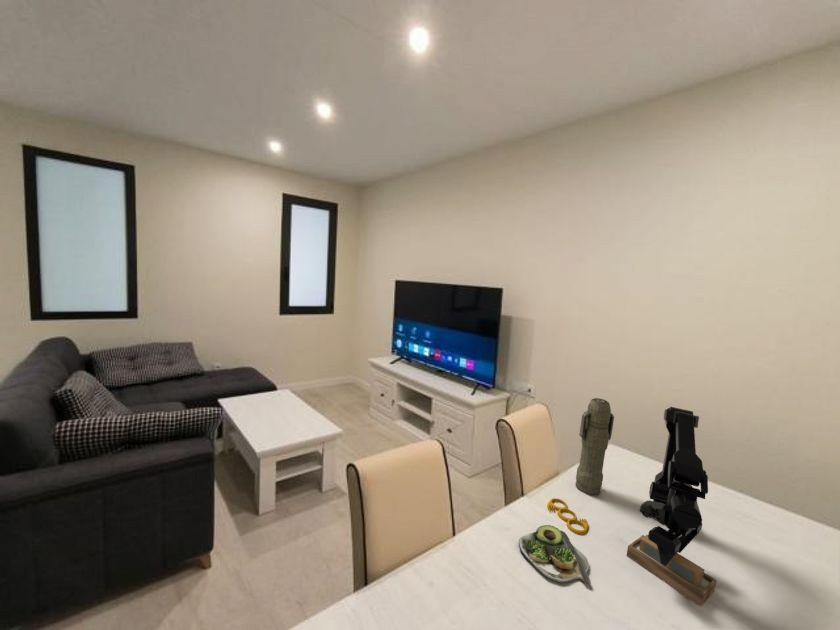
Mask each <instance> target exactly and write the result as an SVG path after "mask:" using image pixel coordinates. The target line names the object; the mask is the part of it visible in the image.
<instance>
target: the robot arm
mask: <svg viewBox="0 0 840 630" xmlns="http://www.w3.org/2000/svg"><path fill="white" fill-rule="evenodd" d="M699 419H700V416H699V415H694V411H692V410H688V409H683V408H679V407H673V406H669V408H667V409H664V412H663V420H664V423H665V427H666V430H667V432H668V435H667V442H666V447H665V452H664V453H665V454H664V458H663V464H662V470H661V471H659V473H657V474H655V476H654V480H653V481H651V483H650V485H649V489H648V490H649V491H648V493H649V495H648V496H649V499H650V500H645V501H644V502H642V503H641V505H640V508H639V512H640V513H641V515H642V516H643V517H644V518H647V519H649V518H650V519H654V520H657V521H658V523H659V524H661V525H662V526H665V527H666V528H667V529H668V530H666V529H665V528H663V527H662V526H660V525H657V526H655V527H654V526H653V528H652V529H649V531H648V534H647V535H648V539H649V540H651V541H652V542H654V543H655V544H656V545H657V547H658V551H659V556H660V561H661V564H663V565H664V566H666V565H667V564H668V563H669V562H670V561H671V559H672V558H673V557H674V556H675V555H676V554H677V553H678V554H680V553H682V552H683V550H685V548H686V547H688V545H689V544H690V543H691V542H692V541H693V540H694V539H695V538H696V537H697V536H698V535H699V532H701V531H702V527H703V518H702V514H701V511H700V508H699V503H698V498H699V499H703V500H705V499H706V495H707V494H708V493H709V479H708V478H709V476H708V474H707V471H706V470H705V469H704V467H703V461H702V459H701V458H700V457H699V455H698V454H697V452H696V435H695V429H698V428H699ZM699 486H700V489H699ZM696 487H697V488H696Z"/></svg>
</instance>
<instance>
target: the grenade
mask: <svg viewBox="0 0 840 630" xmlns="http://www.w3.org/2000/svg"><path fill="white" fill-rule="evenodd" d="M614 421H615V416H614V414H613V413H612V409H611V405H610V402H609V401H608V400H606V399H603V398H598V397H596V398H595V397H594V398H592V399H590V401H589V403H588V405H587V410H586V411H584V412H583V413H582V415H581V421H580V426H579V427H580V428H579V436H580V438H581V451H580V456H579V457H580V459H579V463H578V464H579V465H578V467H576V468H577V469H576V475H575V480H576V481H575V487H576V489H577V490H578V491H580V492H581V493H583V494H585V495H589V496H599V495H600V494H601V489H602V486H603V480H604V474H603V469H604V463H605V455H606V451H607V449H608V445H609V441H610V440H611V438H612V433H613V429H614V428H613V427H614Z"/></svg>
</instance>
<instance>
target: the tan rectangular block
mask: <svg viewBox="0 0 840 630" xmlns="http://www.w3.org/2000/svg"><path fill="white" fill-rule="evenodd" d="M639 550H640V551H642V552H644V553H645V554H647V555H648V556H650V557H651V558H653V559H654V560H656V561H657V562H659V563H660V564H661V561H660V556H659V551H658V547H657V545H656V544H655V543H654V542H652V541H651V540H649V539H648V534H646V535H644V537H643V538H641V543H640V549H639ZM662 565H663V564H662ZM665 567H667V568H668V569H670V570H671V571H673V572H674V573H676V574H677V575H679V576H680V577H682V578H684V579H685V580H687V581H688V582H690V583H691V584H693V585H694V586H696V587H698V586H699V585H700V583H701V582H702V580H703V575H704V573H705V569H704V568H703V567H702V566H700V565H698V564H696V563H695V562H693V561H692V560H690V559H688V558H686V557H685V556H684V555H682V554H680V553H679V552H678V553H677V554H676V555H675V556H674V557H673V558H672V559H671V561H670V562H669V563H668V564H667V565H666V566H665Z"/></svg>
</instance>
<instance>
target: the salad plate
mask: <svg viewBox="0 0 840 630" xmlns="http://www.w3.org/2000/svg"><path fill="white" fill-rule="evenodd" d="M518 548H519V550H520V552H521V554H522V555H523V557H524V558H525V559H526V560H527V561H528V562H529V563H531V565H533V566H534V568H536V569H537V570H538V572H540V573H542V574H543V576H545V577H547V578H548V579H550V580H551V581H555V582H558V583H570V582H573V581H574V580H579V579H580V580H582V581H583V582H585V583H586V584H591V579H590V577H589V575H588V571H589V568H590V567H589V566H590V565H589V564H590V563H589V560H588V557H587V556H586V555H584V553H583V552H581V551H580V550H579V549H578V548H577V547H576V546H574V544H572V542H571V541H570V537H568V535H567V533H566V532H565V531H563V530H561V529H559V528H558V527H556V526H554V525H551V524H544V525H543V524H542V525H541V526H539V527H538V528H537V529H536V530H535V531H534V532H531V533H528V534H525V535H522V536H521V537H519V539H518ZM537 562H538V563H542V564H543V563H547V564H551V565H552V566H554V567H555V568H556V569H557V570H560V573H558V574H554V573H553V572H549V571H547V570H546V569H544V568H543V567H541V566H540V565H539V564H538V563H537Z"/></svg>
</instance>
